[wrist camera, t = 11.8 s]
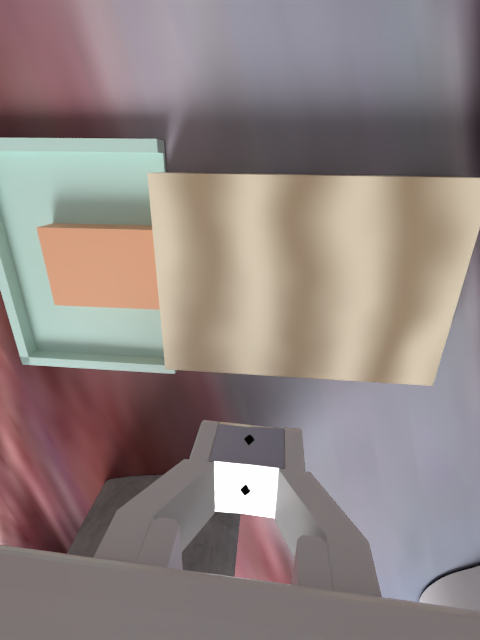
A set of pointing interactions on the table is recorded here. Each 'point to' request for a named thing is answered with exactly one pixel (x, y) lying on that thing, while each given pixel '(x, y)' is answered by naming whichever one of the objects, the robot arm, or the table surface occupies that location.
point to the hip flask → (200, 554)
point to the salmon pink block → (100, 265)
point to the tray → (74, 208)
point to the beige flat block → (311, 272)
